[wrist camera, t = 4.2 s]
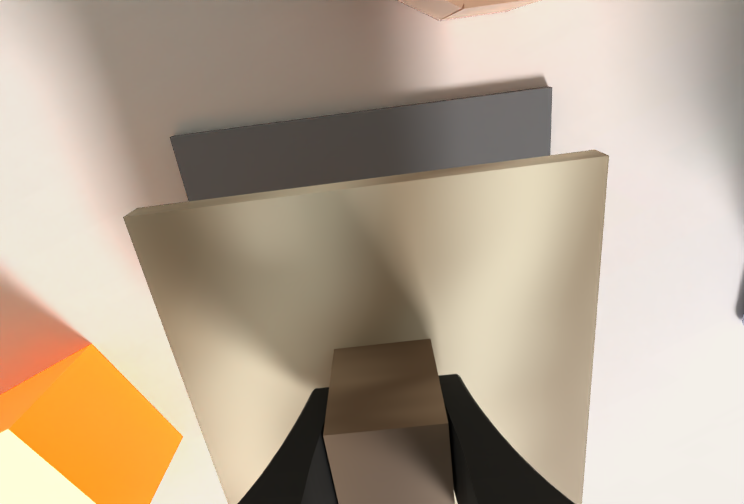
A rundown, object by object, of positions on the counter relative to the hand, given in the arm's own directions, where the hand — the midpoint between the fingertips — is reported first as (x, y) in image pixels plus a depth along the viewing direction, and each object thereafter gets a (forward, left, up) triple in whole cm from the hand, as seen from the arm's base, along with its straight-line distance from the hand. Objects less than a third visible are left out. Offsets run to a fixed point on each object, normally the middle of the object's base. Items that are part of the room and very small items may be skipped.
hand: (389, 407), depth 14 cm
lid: (0, 0, -2) cm, 2 cm away
